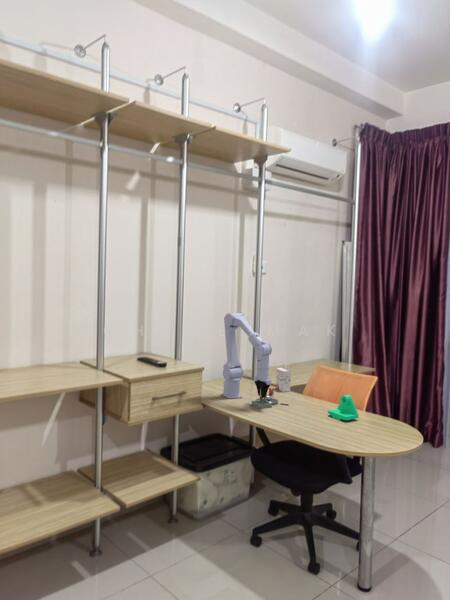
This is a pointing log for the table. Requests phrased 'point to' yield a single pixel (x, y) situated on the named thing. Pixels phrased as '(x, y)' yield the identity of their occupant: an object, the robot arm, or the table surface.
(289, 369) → the ink cartridge box
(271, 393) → the crank
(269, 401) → the dark gray disc
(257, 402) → the tray
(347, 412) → the camera mount
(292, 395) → the table surface
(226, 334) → the robot arm
